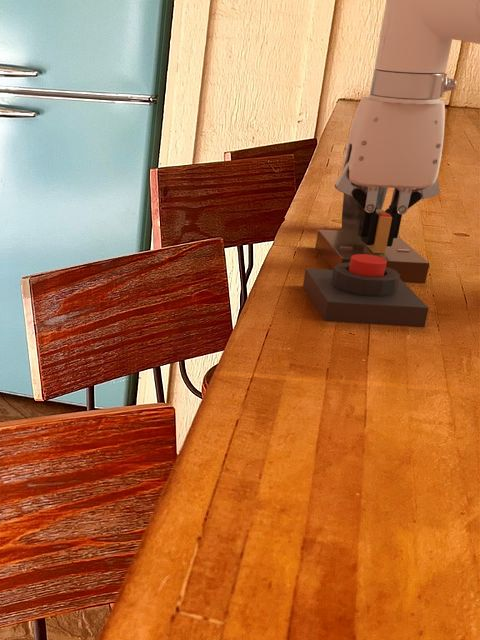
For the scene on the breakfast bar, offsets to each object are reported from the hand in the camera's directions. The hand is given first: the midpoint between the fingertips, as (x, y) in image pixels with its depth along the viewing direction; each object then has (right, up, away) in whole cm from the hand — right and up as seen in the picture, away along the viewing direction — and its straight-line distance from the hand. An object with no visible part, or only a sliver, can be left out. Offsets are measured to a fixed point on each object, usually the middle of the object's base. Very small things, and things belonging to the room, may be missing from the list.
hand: (376, 242), depth 109 cm
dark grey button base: (-7, -9, -12) cm, 16 cm away
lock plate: (0, -2, +3) cm, 4 cm away
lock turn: (0, -1, 0) cm, 1 cm away
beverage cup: (+5, +4, +18) cm, 20 cm away
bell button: (-7, -5, -13) cm, 16 cm away
